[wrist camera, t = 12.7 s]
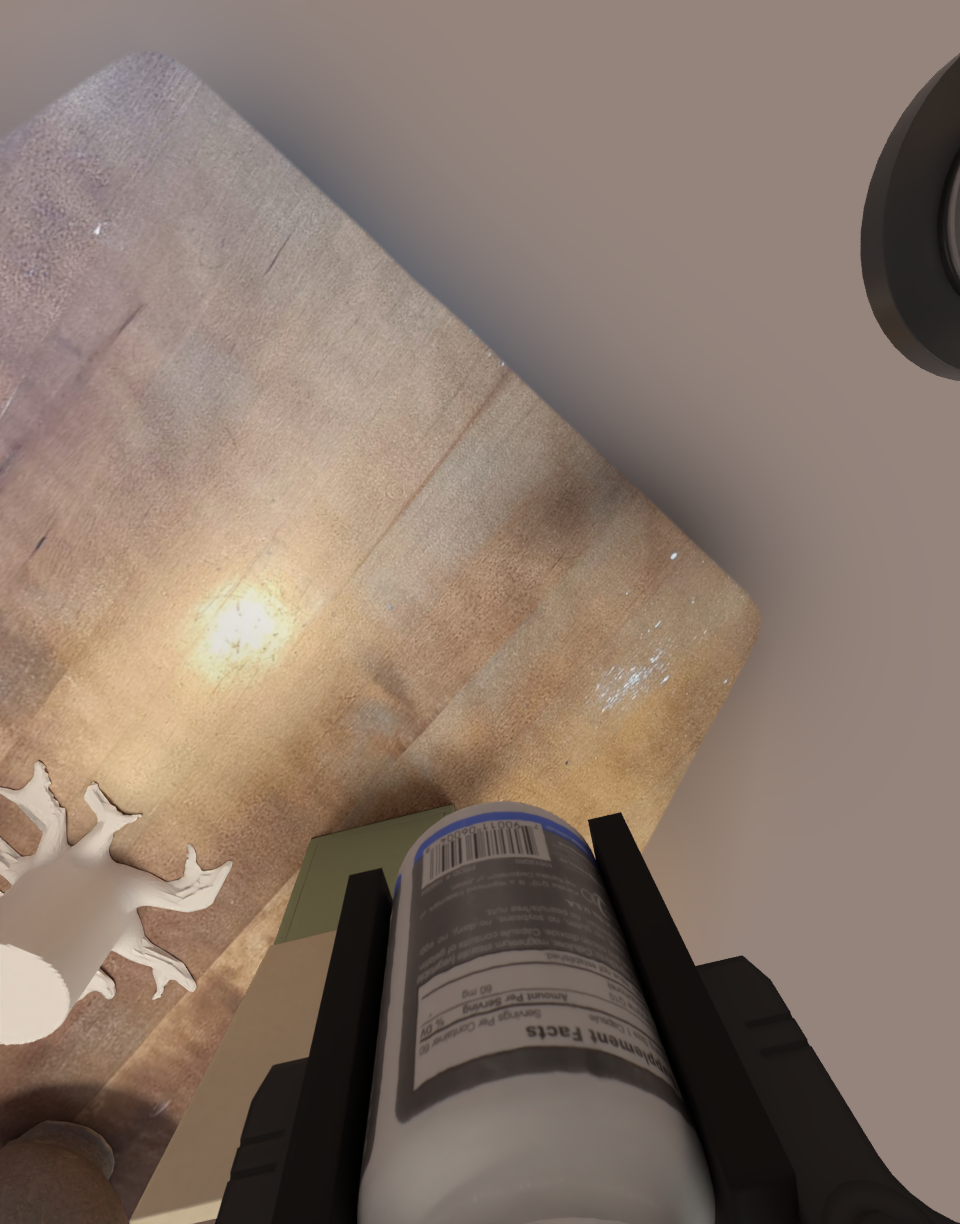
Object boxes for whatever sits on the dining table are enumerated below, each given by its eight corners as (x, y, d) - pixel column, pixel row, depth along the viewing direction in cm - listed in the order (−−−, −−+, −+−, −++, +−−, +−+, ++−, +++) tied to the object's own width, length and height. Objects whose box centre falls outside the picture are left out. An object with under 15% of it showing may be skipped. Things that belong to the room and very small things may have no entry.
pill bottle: (534, 986, 14) (651, 1709, 6) (361, 921, 13) (228, 1659, 5) (636, 842, 13) (943, 1480, 5) (455, 761, 12) (471, 1371, 4)
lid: (443, 1166, 22) (438, 1148, 22) (134, 1238, 22) (127, 1221, 22) (455, 912, 37) (452, 901, 37) (272, 956, 37) (269, 945, 37)
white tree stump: (-12, 731, 44) (-130, 804, 35) (276, 869, 49) (238, 964, 40) (-111, 931, 48) (-238, 1041, 40) (161, 1039, 53) (104, 1158, 45)
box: (492, 934, 52) (503, 1055, 42) (361, 966, 52) (339, 1093, 42) (453, 803, 48) (454, 901, 38) (310, 838, 48) (273, 945, 38)
